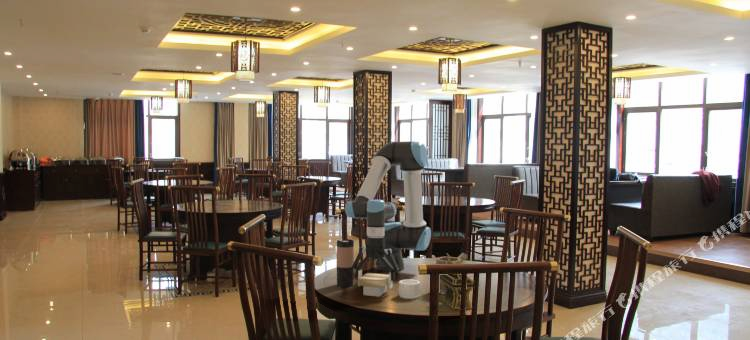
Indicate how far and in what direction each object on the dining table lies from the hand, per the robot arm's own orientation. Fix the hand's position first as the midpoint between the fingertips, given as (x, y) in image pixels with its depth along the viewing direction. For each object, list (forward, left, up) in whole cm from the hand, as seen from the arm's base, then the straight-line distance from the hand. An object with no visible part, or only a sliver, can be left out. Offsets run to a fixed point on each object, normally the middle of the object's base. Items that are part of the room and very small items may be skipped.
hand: (375, 286), depth 238 cm
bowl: (0, +15, -3) cm, 15 cm away
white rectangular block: (0, 0, -3) cm, 3 cm away
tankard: (-17, +30, -3) cm, 35 cm away
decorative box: (+4, +35, -3) cm, 35 cm away
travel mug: (-8, -17, -3) cm, 19 cm away
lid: (0, 0, +1) cm, 1 cm away
